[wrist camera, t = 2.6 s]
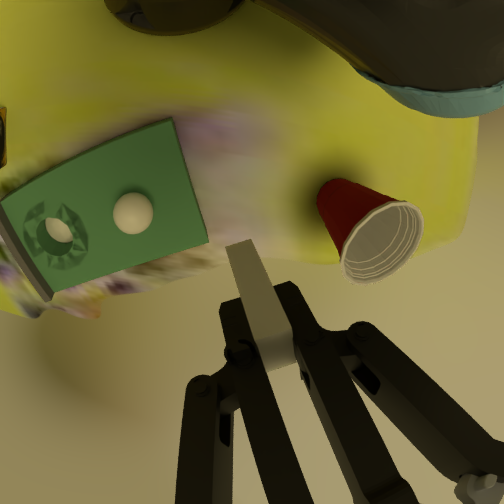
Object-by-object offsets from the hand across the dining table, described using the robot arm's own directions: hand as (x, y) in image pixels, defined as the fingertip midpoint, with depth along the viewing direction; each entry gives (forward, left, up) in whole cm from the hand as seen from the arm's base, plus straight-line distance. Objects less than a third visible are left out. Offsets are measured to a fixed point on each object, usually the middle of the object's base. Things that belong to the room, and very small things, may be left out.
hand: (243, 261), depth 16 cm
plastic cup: (+8, +15, -17) cm, 24 cm away
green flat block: (0, -13, -17) cm, 21 cm away
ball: (0, -8, -12) cm, 14 cm away
